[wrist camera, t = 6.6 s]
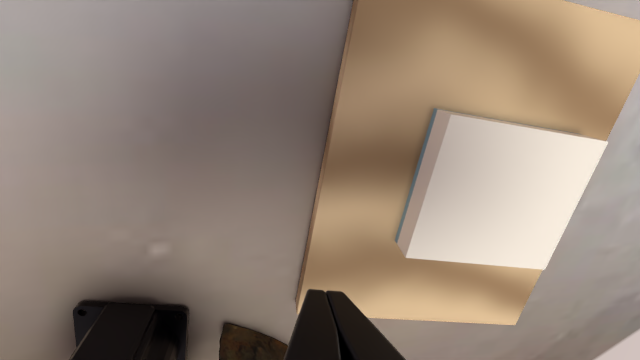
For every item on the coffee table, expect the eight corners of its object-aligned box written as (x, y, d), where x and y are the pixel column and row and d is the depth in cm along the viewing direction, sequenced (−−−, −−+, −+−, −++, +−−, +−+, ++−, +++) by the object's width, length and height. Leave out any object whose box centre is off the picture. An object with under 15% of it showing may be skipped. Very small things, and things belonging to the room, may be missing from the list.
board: (504, 312, 25) (515, 325, 24) (295, 300, 22) (296, 314, 21) (639, 27, 18) (662, 26, 17) (361, -44, 15) (368, -51, 14)
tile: (394, 240, 20) (523, 252, 21) (405, 257, 18) (544, 269, 20) (434, 107, 17) (579, 133, 19) (451, 114, 15) (608, 141, 17)
